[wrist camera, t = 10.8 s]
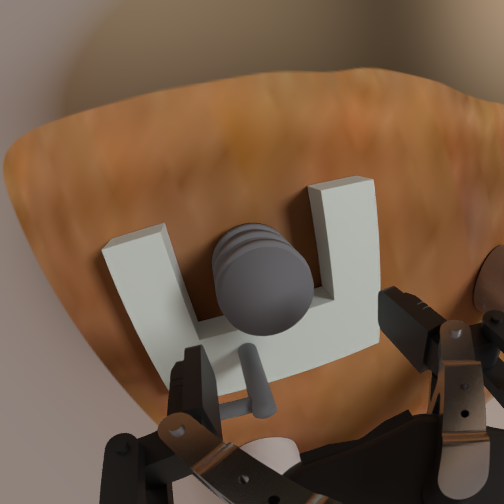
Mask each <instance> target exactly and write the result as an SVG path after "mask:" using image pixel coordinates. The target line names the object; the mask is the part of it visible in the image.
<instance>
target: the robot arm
mask: <svg viewBox="0 0 504 504" xmlns="http://www.w3.org/2000/svg"><path fill="white" fill-rule="evenodd" d="M474 305H475V308H476V309H477V310H479V311H480V312H481V313H483V314H484V315H483V319H482V323H478V324H475V325H471V326H468V325H467V324H466V323H465V322H463V321H460V320H449V321H447V320H446V319H444V318H443V317H442V316H441V315H439V314H438V313H437V312H436V311H434V310H433V309H432V308H431V307H428V305H427V304H425V303H424V302H423V301H422V300H420V299H419V298H418V297H416V296H415V295H412V294H409V293H403V292H402V291H400V290H399V289H398V288H396V287H395V286H392V287H389V288H387V289H384V290H381V291H379V293H378V324H379V327H380V329H381V330H382V332H383V333H384V334H385V335H386V336H387V337H388V338H389V339H390V341H391V342H392V343H393V344H394V345H395V346H396V347H397V348H398V349H399V350H400V352H401V353H402V354H403V355H404V356H405V357H406V358H407V359H408V360H409V362H410V363H411V364H412V365H413V366H414V367H415V368H416V369H417V370H418V372H419V373H422V372H424V371H425V370H427V369H430V371H431V374H430V384H429V398H428V408H427V414H418V415H413V416H412V415H411V413H410V412H409V410H406V411H404V412H402V413H400V414H398V415H396V416H394V417H392V418H390V419H388V420H386V421H384V422H383V423H381V424H380V425H379V426H377V427H376V428H375V429H373V430H372V431H371V432H369V433H368V434H367V435H365V436H364V437H362V438H361V439H358V440H353V441H347V442H341V443H335V444H328V445H325V446H322V447H320V448H317V449H314V450H310V451H307V452H304V453H301V454H299V455H300V460H301V461H300V462H298V463H297V464H295V465H293V466H292V467H291V468H289V469H288V470H287V471H286V472H284V473H283V474H282V475H281V474H279V473H278V472H276V471H274V470H273V469H271V468H270V467H268V466H266V465H265V464H263V463H262V462H260V461H258V460H257V459H255V458H254V457H252V456H251V455H249V454H248V453H246V452H245V451H243V450H242V449H240V448H239V447H238V446H236V445H234V444H232V443H228V444H226V443H225V442H223V438H222V429H221V421H220V412H219V402H218V393H217V383H216V378H215V374H214V371H213V368H212V366H211V364H210V361H209V359H208V357H207V354H206V352H205V349H204V347H203V345H202V344H200V345H196V346H192V347H187V348H185V350H184V360H183V361H178V362H176V363H175V365H174V366H173V368H172V370H171V374H170V385H169V388H170V389H169V397H168V410H167V417H165V418H164V419H163V420H162V421H161V422H160V424H159V426H158V430H157V431H155V432H154V433H151V434H149V435H146V436H144V437H141V438H138V439H136V437H135V436H133V435H132V434H129V433H121V434H118V435H115V436H114V437H112V438H111V439H110V440H109V441H108V443H107V445H106V447H105V453H104V461H103V469H102V479H101V490H100V502H99V503H100V504H174V502H173V491H172V482H173V481H176V480H179V479H181V478H184V477H186V476H189V475H191V474H193V475H194V476H195V477H196V478H197V479H198V480H199V481H200V482H201V483H202V484H204V485H205V486H206V487H207V488H208V489H210V490H211V491H212V492H213V493H214V494H215V495H216V496H218V497H219V498H220V499H221V500H222V501H224V502H225V503H226V504H504V429H499V428H493V427H489V426H486V408H485V393H484V386H485V387H486V388H487V389H488V391H489V392H490V393H491V394H492V395H493V396H494V397H495V399H496V400H497V401H498V402H499V403H500V404H501V406H502V407H503V408H504V362H503V361H502V360H501V359H500V358H499V357H498V356H499V354H500V351H502V352H503V353H504V245H500V246H498V247H496V248H495V249H494V250H493V251H492V252H491V253H490V254H489V256H488V257H487V259H486V261H485V262H484V264H483V266H482V268H481V271H480V273H479V275H478V278H477V282H476V285H475V290H474Z"/></svg>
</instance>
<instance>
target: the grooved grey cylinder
mask: <svg viewBox="0 0 504 504" xmlns="http://www.w3.org/2000/svg"><path fill="white" fill-rule="evenodd" d="M212 270H213V275H214V284H215V290H216V297H217V302H218V305H219V307H220V310H221V311H222V313H223V314H224V316H225V317H226V318H227V319H228V321H229V322H230V323H231V324H232V325H233V326H234V327H235V328H237V329H238V330H240V331H242V332H244V333H246V334H249V335H254V336H270V335H275V334H278V333H281V332H284V331H286V330H288V329H289V328H291V327H293V326H294V325H295V324H297V323H298V322H299V321H300V320H301V319H302V318H303V316H304V315H305V314H306V312H307V311H308V309H309V307H310V305H311V303H312V300H313V295H314V283H313V278H312V275H311V271H310V268H309V266H308V264H307V262H306V261H305V259H304V258H303V257H302V256H301V255H300V254H299V253H298V252H297V251H296V250H295V249H294V248H293V246H292V245H291V244H290V243H289V242H288V241H287V240H285V238H284V237H283V236H282V235H281V234H280V233H279V232H278V231H276V230H275V229H273V228H272V227H270V226H267V225H264V224H260V223H245V224H241V225H238V226H235V227H233V228H232V229H230V230H229V231H227V232H226V233H225V234H224V235H223V236H222V237H221V239H220V240H219V241H218V243H217V245H216V247H215V249H214V252H213V256H212Z"/></svg>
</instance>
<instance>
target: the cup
mask: <svg viewBox="0 0 504 504" xmlns="http://www.w3.org/2000/svg"><path fill="white" fill-rule="evenodd" d="M239 448H240V449H242V450H243V451H245V452H246V453H248V454H249V455H251V456H252V457H254V458H255V459H257V460H258V461H260V462H262V463H263V464H265V465H266V466H268V467H270V468H271V469H273V470H274V471H276V472H278V473H279V474H281V475H282V474H283V473H284V472H286V471H287V470H288V469H289V468H291V467H292V466H293V465H295V464H297V463H298V462H300V461H301V460H300V455H299V454H300V453H299V451H298V448H297V446H296V443H295V442H294V441H293V440H291V439H288V438H283V437H269V438H263V439H258V440H255V441H252V442H249V443H247V444H245V445H243V446H241V447H239Z"/></svg>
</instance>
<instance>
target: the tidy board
mask: <svg viewBox="0 0 504 504" xmlns="http://www.w3.org/2000/svg"><path fill="white" fill-rule="evenodd" d="M307 188H308V194H309V199H310V205H311V211H312V218H313V224H314V231H315V237H316V244H317V251H318V259H319V266H320V274H321V282H322V286H321V287H318V288H315V289H314V295H313V300H312V303H311V305H310V307H309V309H308V311H307V312H306V314H305V315H304V316H303V318H302V319H301V320H300V321H299V322H298V323H297V324H295V325H294V326H293V327H291V328H289V329H288V330H286V331H284V332H281V333H278V334H275V335H270V336H254V335H249V334H246V333H244V332H242V331H240V330H238V329H237V328H235V327H234V326H233V325H232V324H231V323H230V322H229V321H228V319H227V318H226V317H225V316H224V315H223V316H219V317H215V318H211V319H208V320H204V321H200V322H198V320H197V317H196V314H195V312H194V309H193V306H192V303H191V301H190V298H189V295H188V292H187V289H186V286H185V284H184V281H183V278H182V275H181V272H180V269H179V266H178V263H177V260H176V257H175V254H174V251H173V248H172V245H171V241H170V238H169V235H168V232H167V229H166V225H165V223H161V224H158V225H155V226H151V227H148V228H145V229H141V230H138V231H135V232H132V233H128V234H125V235H122V236H119V237H116V238H113V239H111V240H110V241H109V242H108V243H107V244H106V245H105V247H104V248H103V249H102V253H103V255H104V258H105V261H106V263H107V266H108V268H109V271H110V273H111V276H112V278H113V281H114V283H115V285H116V288H117V290H118V292H119V295H120V297H121V299H122V302H123V304H124V306H125V308H126V310H127V313H128V315H129V317H130V319H131V321H132V323H133V325H134V327H135V329H136V332H137V334H138V336H139V338H140V340H141V342H142V344H143V345H144V347H145V349H146V351H147V353H148V355H149V357H150V359H151V361H152V362H153V364H154V366H155V368H156V370H157V372H158V373H159V375H160V377H161V379H162V380H163V382H164V384H165V386H166V387H167V389H168V391H169V389H170V388H169V385H170V374H171V370H172V368H173V366H174V365H175V363H176V362H178V361H183V360H184V350H185V348H187V347H192V346H196V345H200V344H202V345H203V347H204V349H205V352H206V354H207V357H208V359H209V361H210V364H211V366H212V368H213V371H214V374H215V378H216V383H217V393H218V396H220V395H224V394H228V393H232V392H236V391H240V390H244V389H247V392H248V396H249V397H247V398H244V399H240V400H236V401H232V402H227V403H223V404H219V412H220V420H224V419H229V418H233V417H237V416H241V415H245V414H249V413H253V415H254V416H255V417H256V418H260V419H263V418H268V417H271V416H272V415H274V414H275V413H276V411H277V407H276V404H275V401H274V398H273V396H272V393H271V390H270V387H269V384H268V383H269V382H272V381H276V380H279V379H282V378H285V377H288V376H292V375H295V374H298V373H301V372H304V371H307V370H310V369H312V368H315V367H318V366H321V365H324V364H326V363H329V362H332V361H334V360H337V359H340V358H342V357H345V356H347V355H350V354H352V353H355V352H357V351H360V350H362V349H365V348H367V347H369V346H372V345H374V344H376V343H379V331H380V327H379V324H378V293H379V291H380V253H379V234H378V220H377V208H376V198H375V188H374V180H373V179H370V178H365V177H360V176H352V177H347V178H342V179H337V180H332V181H328V182H323V183H318V184H314V185H309V186H307Z"/></svg>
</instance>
